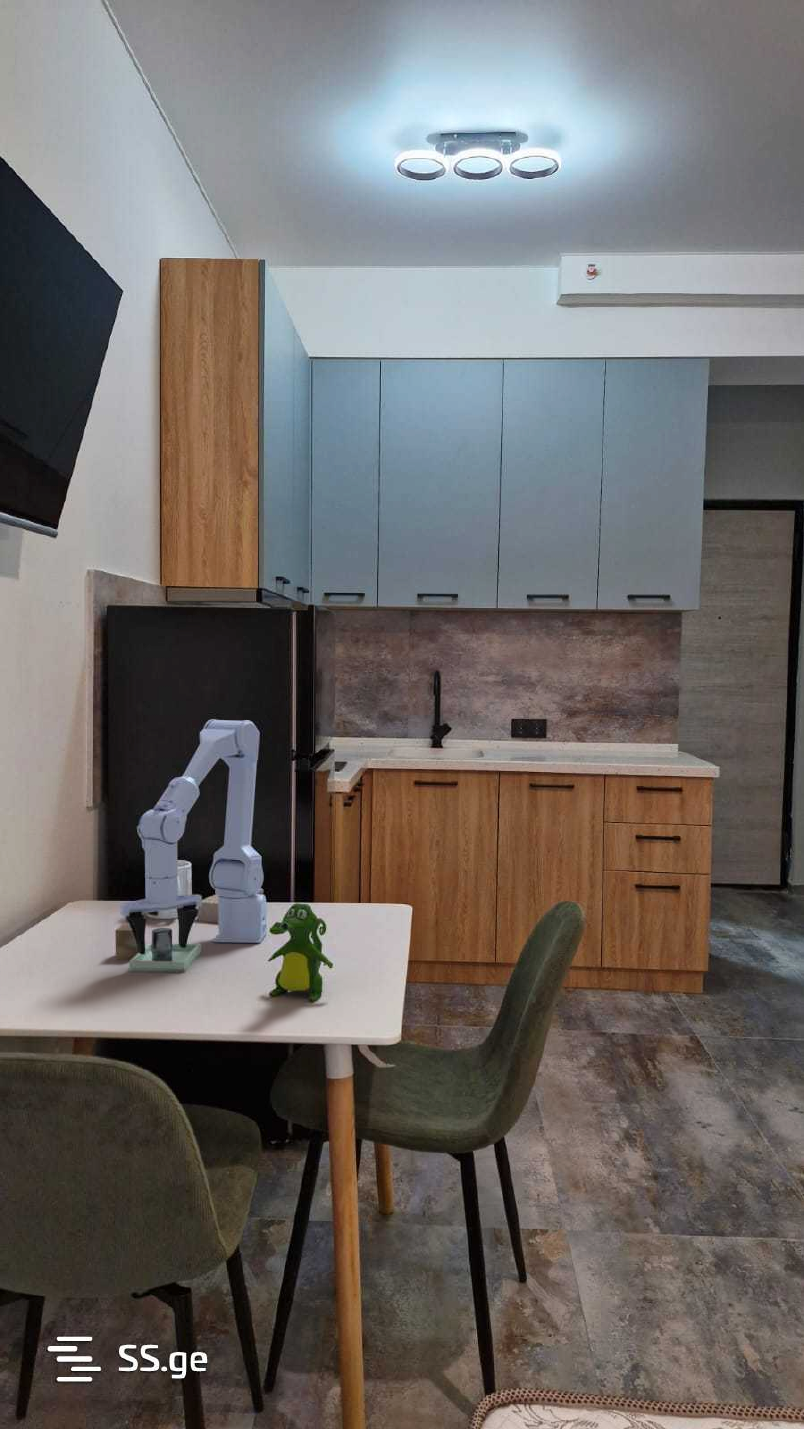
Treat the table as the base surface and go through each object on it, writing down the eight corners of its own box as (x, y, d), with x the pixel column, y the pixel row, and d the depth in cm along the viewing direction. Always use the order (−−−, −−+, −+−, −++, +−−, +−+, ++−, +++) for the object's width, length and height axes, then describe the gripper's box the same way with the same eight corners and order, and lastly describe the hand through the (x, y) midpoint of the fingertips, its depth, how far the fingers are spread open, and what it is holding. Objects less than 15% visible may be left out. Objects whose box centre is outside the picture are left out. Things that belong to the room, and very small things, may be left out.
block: (143, 953, 192) (143, 924, 192) (136, 959, 188) (136, 930, 188) (122, 953, 192) (122, 924, 192) (115, 959, 188) (115, 930, 188)
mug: (202, 909, 226) (201, 861, 226) (178, 923, 214) (177, 871, 214) (159, 907, 228) (158, 859, 228) (133, 920, 217) (132, 869, 216)
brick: (230, 925, 214) (230, 903, 214) (195, 921, 217) (195, 900, 216) (264, 908, 230) (264, 887, 230) (231, 905, 232) (231, 885, 232)
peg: (172, 959, 186) (172, 927, 185) (172, 965, 182) (171, 932, 182) (152, 960, 185) (152, 928, 185) (151, 966, 181) (151, 933, 181)
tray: (201, 953, 192) (201, 943, 192) (184, 972, 180) (184, 962, 180) (149, 952, 192) (149, 943, 192) (129, 971, 180) (129, 961, 180)
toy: (242, 1006, 162) (241, 913, 161) (295, 972, 180) (295, 889, 179) (308, 1014, 158) (308, 920, 157) (355, 979, 176) (355, 894, 175)
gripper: (192, 867, 190) (192, 939, 191) (115, 876, 182) (116, 950, 183) (205, 874, 184) (206, 947, 185) (126, 883, 176) (127, 959, 177)
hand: (162, 949), depth 183 cm, fingers open, 7 cm apart
